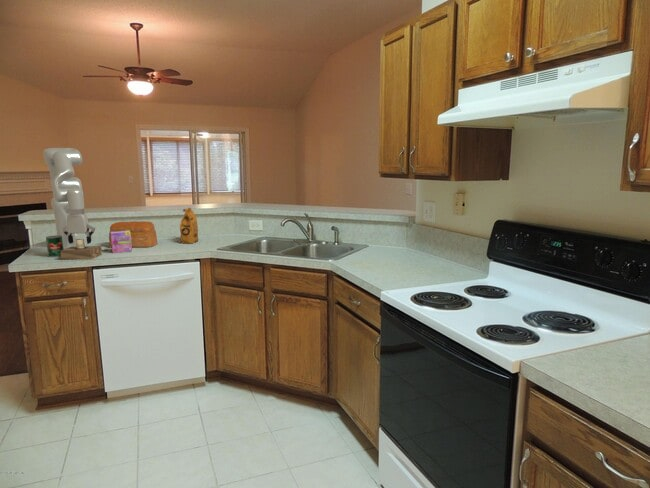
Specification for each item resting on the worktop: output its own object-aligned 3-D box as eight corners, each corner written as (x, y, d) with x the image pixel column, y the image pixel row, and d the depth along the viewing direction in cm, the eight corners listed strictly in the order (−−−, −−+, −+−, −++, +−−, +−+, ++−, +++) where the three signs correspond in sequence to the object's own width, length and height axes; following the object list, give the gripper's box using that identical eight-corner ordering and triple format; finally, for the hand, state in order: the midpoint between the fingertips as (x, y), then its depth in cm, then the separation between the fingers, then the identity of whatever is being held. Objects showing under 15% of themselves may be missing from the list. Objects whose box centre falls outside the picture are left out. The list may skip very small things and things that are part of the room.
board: (73, 255, 255) (72, 246, 254) (101, 254, 256) (100, 246, 255) (61, 259, 244) (60, 250, 243) (91, 259, 244) (90, 250, 243)
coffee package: (178, 243, 286) (175, 209, 282) (186, 240, 298) (183, 207, 294) (193, 244, 285) (191, 209, 281) (200, 240, 297) (198, 207, 293)
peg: (80, 256, 252) (77, 238, 250) (87, 256, 252) (85, 238, 250) (76, 258, 248) (74, 240, 246) (83, 258, 248) (81, 240, 246)
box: (112, 253, 259) (110, 233, 257) (112, 251, 264) (110, 231, 262) (132, 251, 264) (130, 231, 262) (131, 249, 269) (129, 230, 267)
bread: (151, 247, 275) (149, 223, 273) (107, 248, 275) (104, 223, 272) (159, 243, 289) (157, 220, 286) (117, 244, 289) (115, 220, 286)
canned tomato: (59, 253, 260) (57, 234, 258) (67, 255, 256) (65, 235, 254) (45, 256, 253) (42, 237, 251) (53, 257, 249) (50, 238, 247)
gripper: (56, 213, 241) (60, 244, 245) (89, 213, 242) (92, 244, 245) (64, 211, 249) (67, 241, 252) (96, 211, 249) (99, 241, 253)
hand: (80, 243), depth 249 cm, fingers open, 9 cm apart
